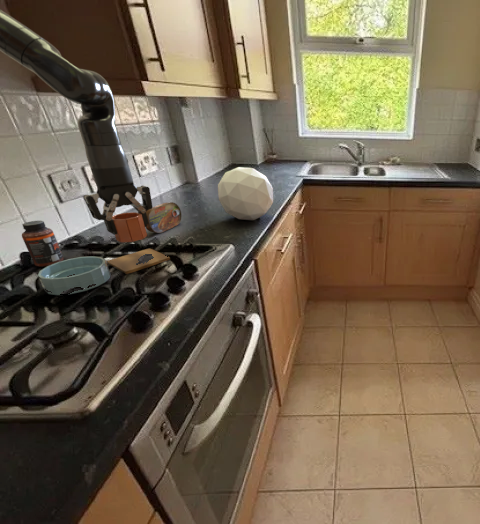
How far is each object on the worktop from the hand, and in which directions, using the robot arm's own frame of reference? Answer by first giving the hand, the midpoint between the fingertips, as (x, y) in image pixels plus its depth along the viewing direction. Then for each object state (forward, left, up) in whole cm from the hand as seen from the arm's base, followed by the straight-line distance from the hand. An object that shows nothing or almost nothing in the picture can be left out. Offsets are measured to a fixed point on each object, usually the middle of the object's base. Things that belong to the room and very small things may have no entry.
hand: (129, 229), depth 86 cm
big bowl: (-14, -2, -9) cm, 17 cm away
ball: (+43, +8, -9) cm, 45 cm away
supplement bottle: (-14, +18, -9) cm, 25 cm away
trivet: (0, 0, -9) cm, 9 cm away
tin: (+18, +21, -9) cm, 29 cm away
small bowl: (0, 0, -2) cm, 2 cm away
